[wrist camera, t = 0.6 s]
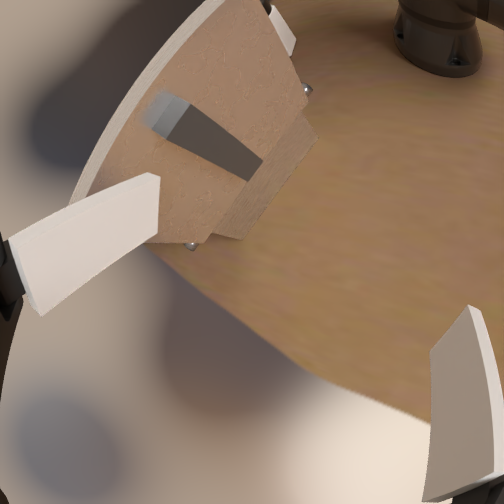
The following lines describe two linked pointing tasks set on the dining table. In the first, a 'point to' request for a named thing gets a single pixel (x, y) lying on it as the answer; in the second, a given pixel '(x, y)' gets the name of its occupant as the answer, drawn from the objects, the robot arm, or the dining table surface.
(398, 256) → the dining table surface
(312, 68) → the dining table surface
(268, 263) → the dining table surface
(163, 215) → the lid
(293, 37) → the jar
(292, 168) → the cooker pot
